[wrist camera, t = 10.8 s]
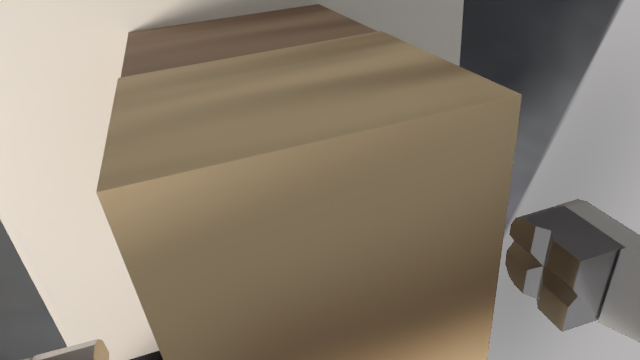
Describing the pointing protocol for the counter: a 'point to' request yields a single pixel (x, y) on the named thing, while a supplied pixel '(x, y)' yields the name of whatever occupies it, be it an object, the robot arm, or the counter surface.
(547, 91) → the counter surface
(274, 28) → the walnut base brick
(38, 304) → the counter surface
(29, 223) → the baseplate
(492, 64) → the counter surface
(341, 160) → the oak brick
